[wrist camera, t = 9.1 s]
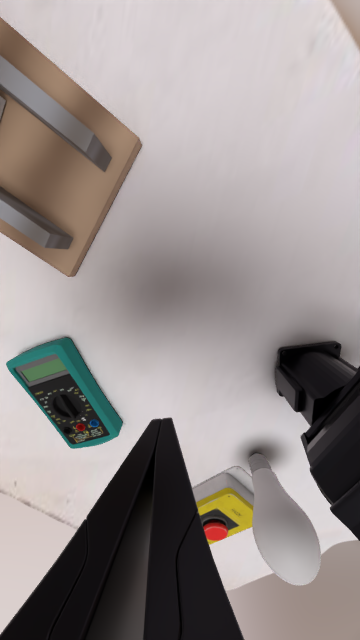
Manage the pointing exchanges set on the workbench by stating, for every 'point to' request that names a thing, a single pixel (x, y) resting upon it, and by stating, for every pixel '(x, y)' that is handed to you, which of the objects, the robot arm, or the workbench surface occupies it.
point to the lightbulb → (282, 528)
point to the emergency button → (225, 503)
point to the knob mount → (55, 156)
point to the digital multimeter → (66, 393)
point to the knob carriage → (1, 105)
